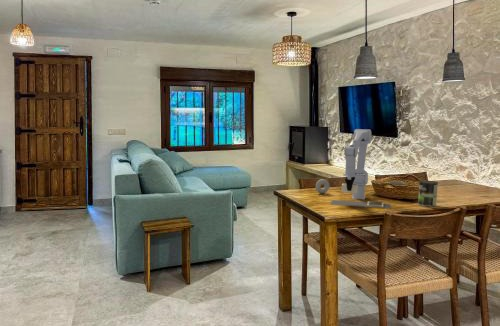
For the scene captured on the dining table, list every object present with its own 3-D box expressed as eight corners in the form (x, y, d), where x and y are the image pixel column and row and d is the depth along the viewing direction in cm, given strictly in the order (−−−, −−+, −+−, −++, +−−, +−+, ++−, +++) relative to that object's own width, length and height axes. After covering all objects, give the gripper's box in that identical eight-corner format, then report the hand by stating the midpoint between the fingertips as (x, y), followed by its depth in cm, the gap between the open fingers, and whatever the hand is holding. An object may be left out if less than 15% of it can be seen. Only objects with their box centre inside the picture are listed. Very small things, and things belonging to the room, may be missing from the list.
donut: (316, 194, 281) (317, 179, 280) (314, 193, 285) (314, 178, 283) (330, 193, 284) (330, 179, 283) (327, 192, 287) (328, 178, 286)
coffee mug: (407, 199, 269) (408, 183, 268) (393, 199, 267) (394, 184, 266) (395, 195, 282) (396, 180, 281) (381, 195, 280) (382, 180, 279)
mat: (332, 200, 262) (332, 199, 262) (390, 204, 252) (390, 204, 252) (330, 205, 249) (330, 204, 249) (390, 209, 240) (390, 208, 240)
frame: (367, 202, 256) (367, 200, 256) (383, 203, 253) (383, 201, 253) (367, 206, 243) (367, 205, 243) (383, 208, 241) (383, 206, 241)
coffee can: (425, 207, 246) (426, 183, 245) (414, 203, 256) (415, 180, 254) (440, 206, 249) (441, 182, 247) (428, 202, 259) (430, 180, 257)
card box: (341, 192, 251) (341, 184, 250) (342, 190, 255) (342, 183, 255) (357, 193, 248) (357, 185, 247) (357, 191, 253) (357, 184, 252)
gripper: (344, 165, 258) (343, 187, 260) (342, 168, 244) (341, 191, 246) (356, 165, 256) (355, 188, 258) (355, 168, 242) (354, 192, 244)
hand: (349, 189), depth 252 cm, fingers closed on card box, 5 cm apart
